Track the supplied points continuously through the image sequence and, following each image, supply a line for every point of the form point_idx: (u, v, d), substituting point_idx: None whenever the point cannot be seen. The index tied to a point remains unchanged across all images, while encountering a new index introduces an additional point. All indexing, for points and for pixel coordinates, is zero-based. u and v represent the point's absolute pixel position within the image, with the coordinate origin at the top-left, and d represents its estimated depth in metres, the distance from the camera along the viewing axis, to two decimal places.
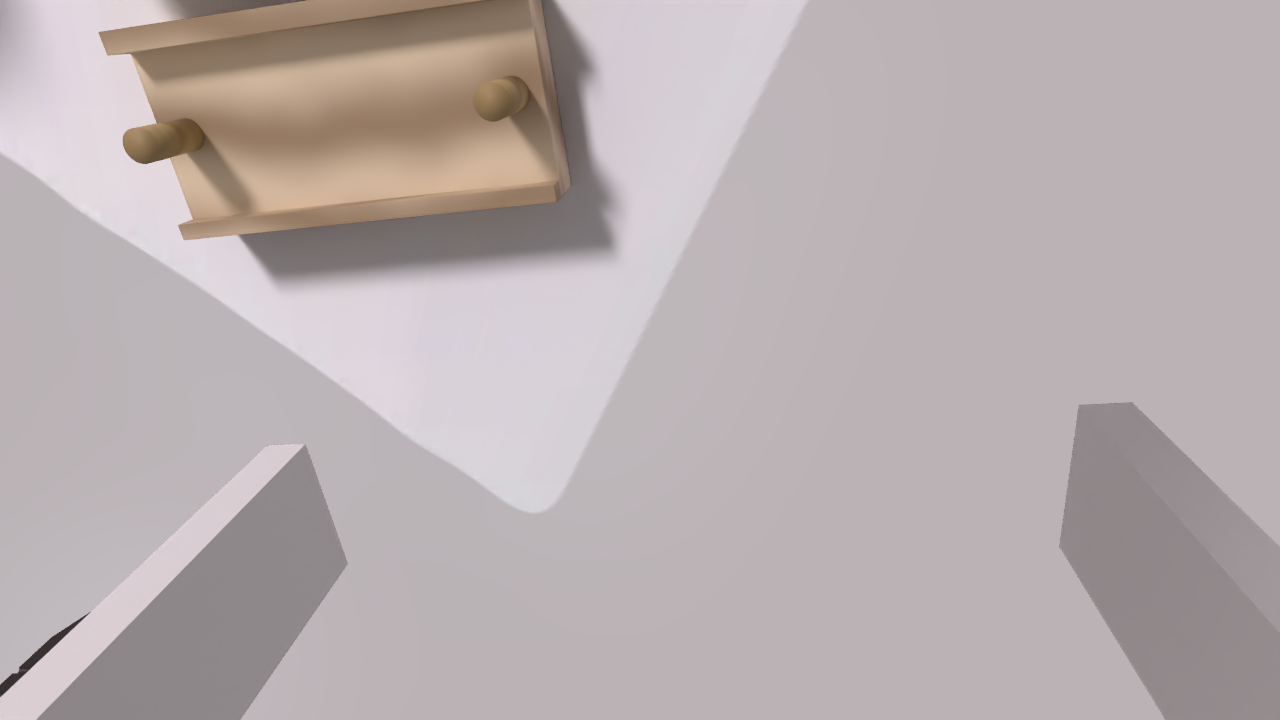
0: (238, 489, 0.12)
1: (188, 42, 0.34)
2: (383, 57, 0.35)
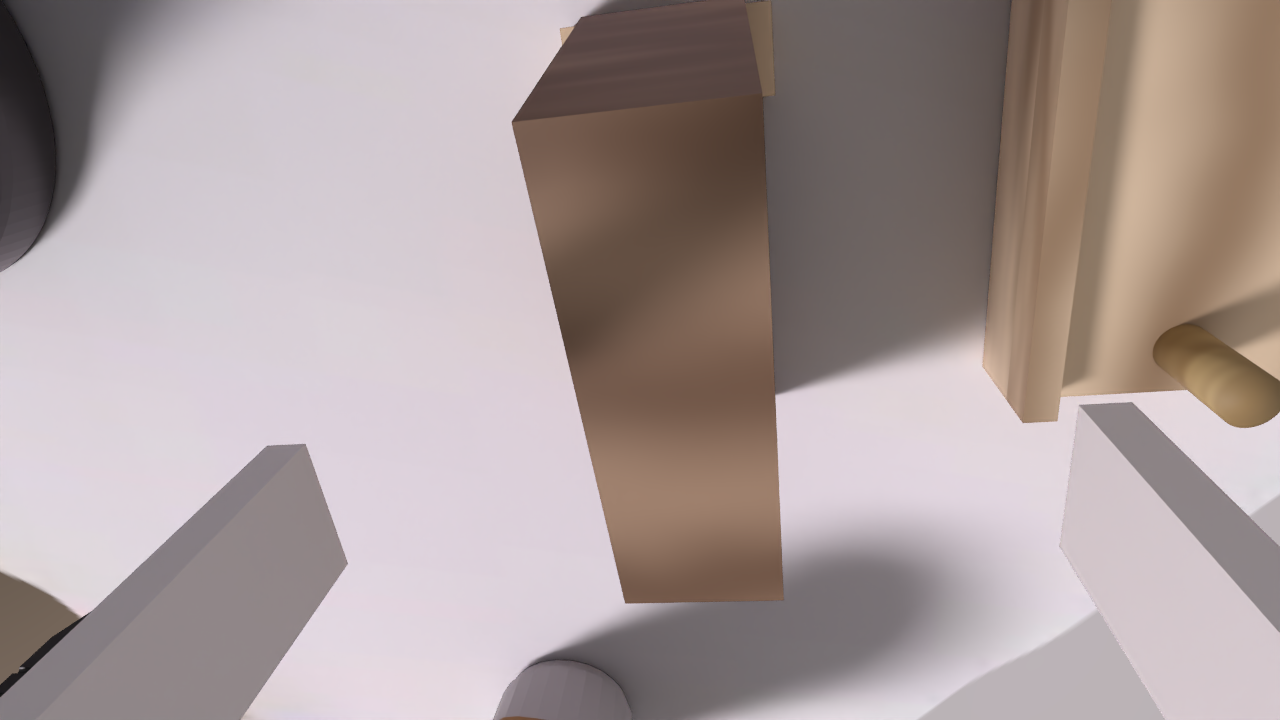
0: (238, 488, 0.12)
1: (1072, 292, 0.21)
2: None
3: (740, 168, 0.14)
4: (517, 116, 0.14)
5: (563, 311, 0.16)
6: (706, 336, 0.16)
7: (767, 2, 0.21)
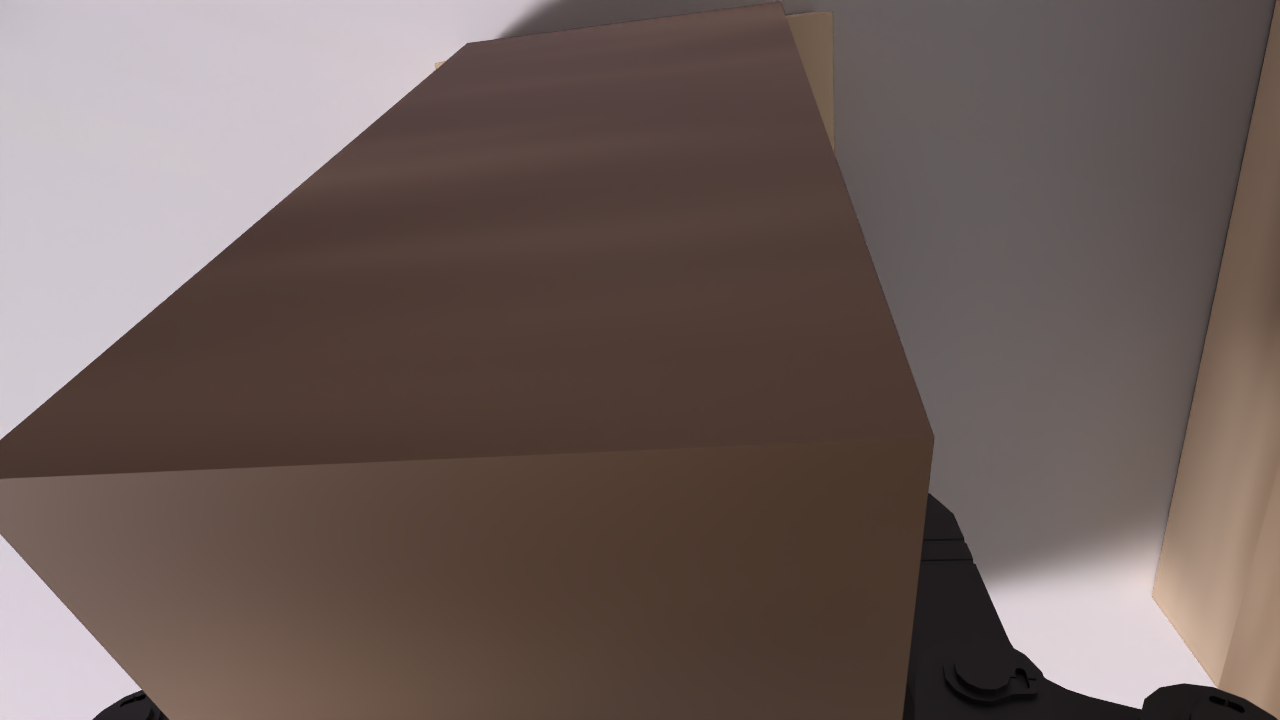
0: None
1: None
2: None
3: (815, 639, 0.04)
4: (8, 438, 0.04)
5: None
6: None
7: (825, 15, 0.11)
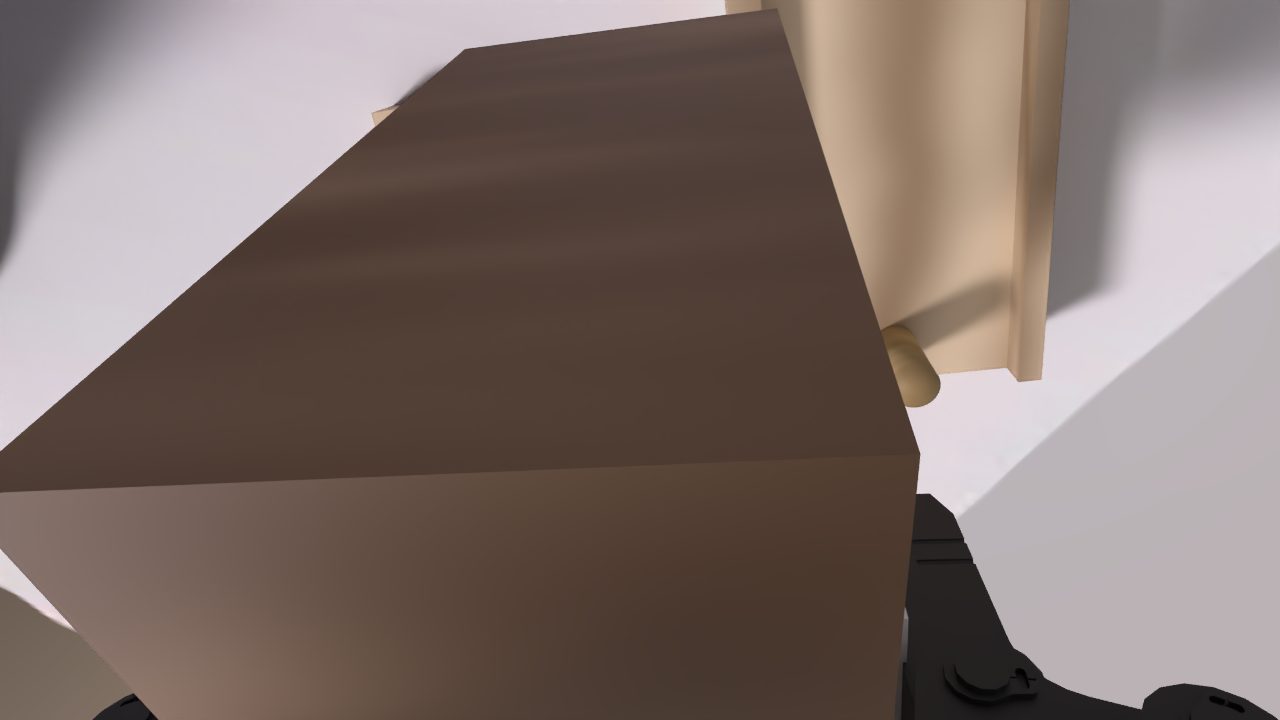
0: None
1: None
2: (815, 44, 0.24)
3: (805, 652, 0.04)
4: (5, 452, 0.04)
5: None
6: None
7: None
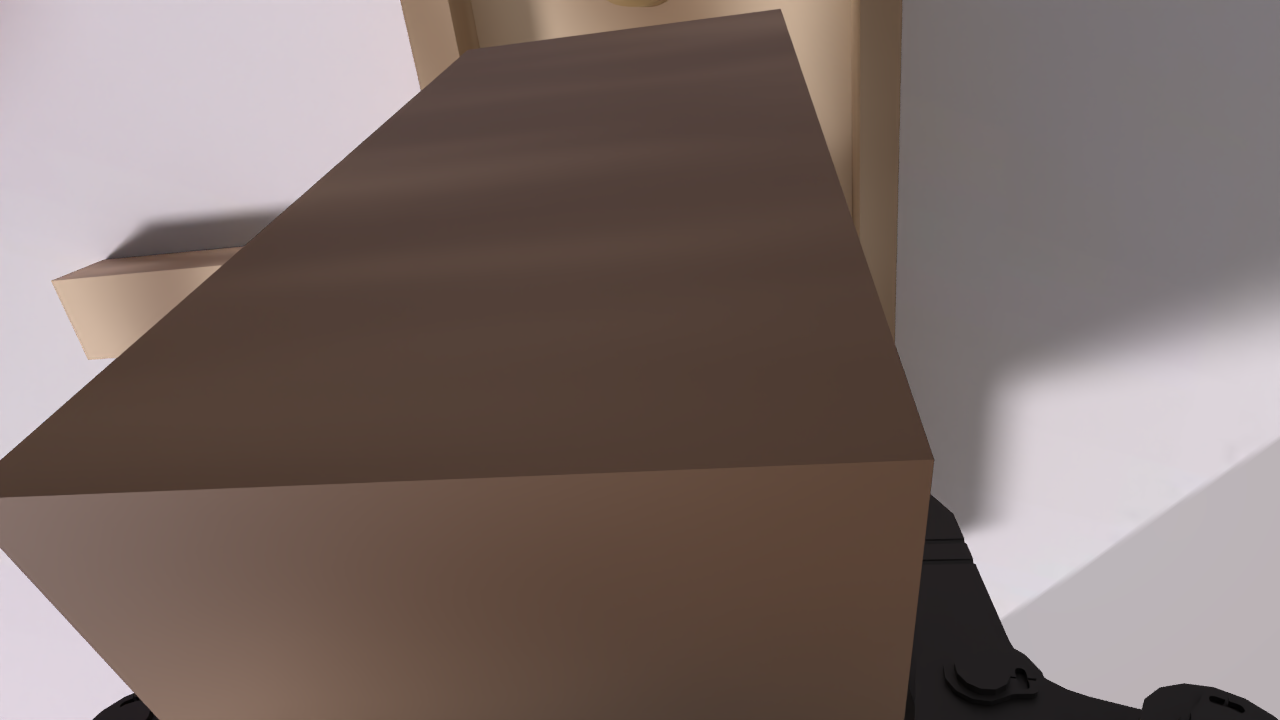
0: None
1: None
2: None
3: (816, 658, 0.04)
4: (11, 456, 0.04)
5: None
6: None
7: None
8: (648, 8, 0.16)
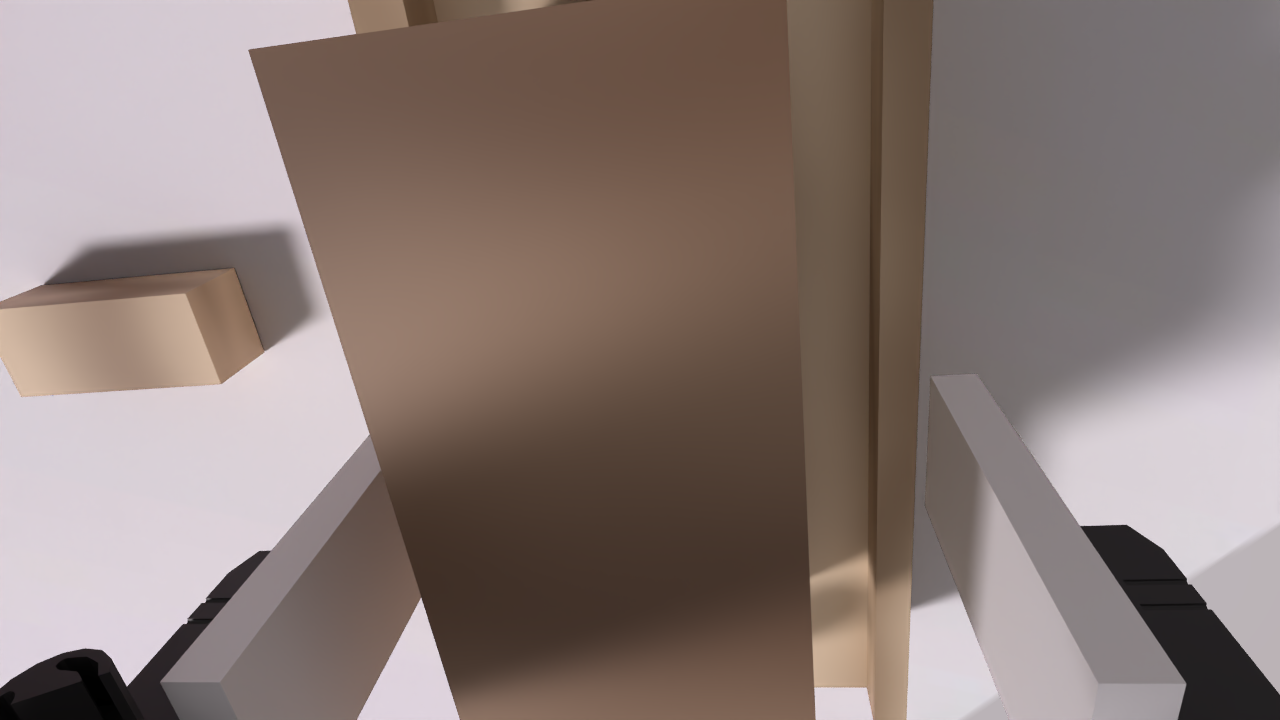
0: None
1: None
2: None
3: (737, 155, 0.06)
4: None
5: (390, 457, 0.08)
6: (672, 513, 0.08)
7: (181, 295, 0.18)
8: None
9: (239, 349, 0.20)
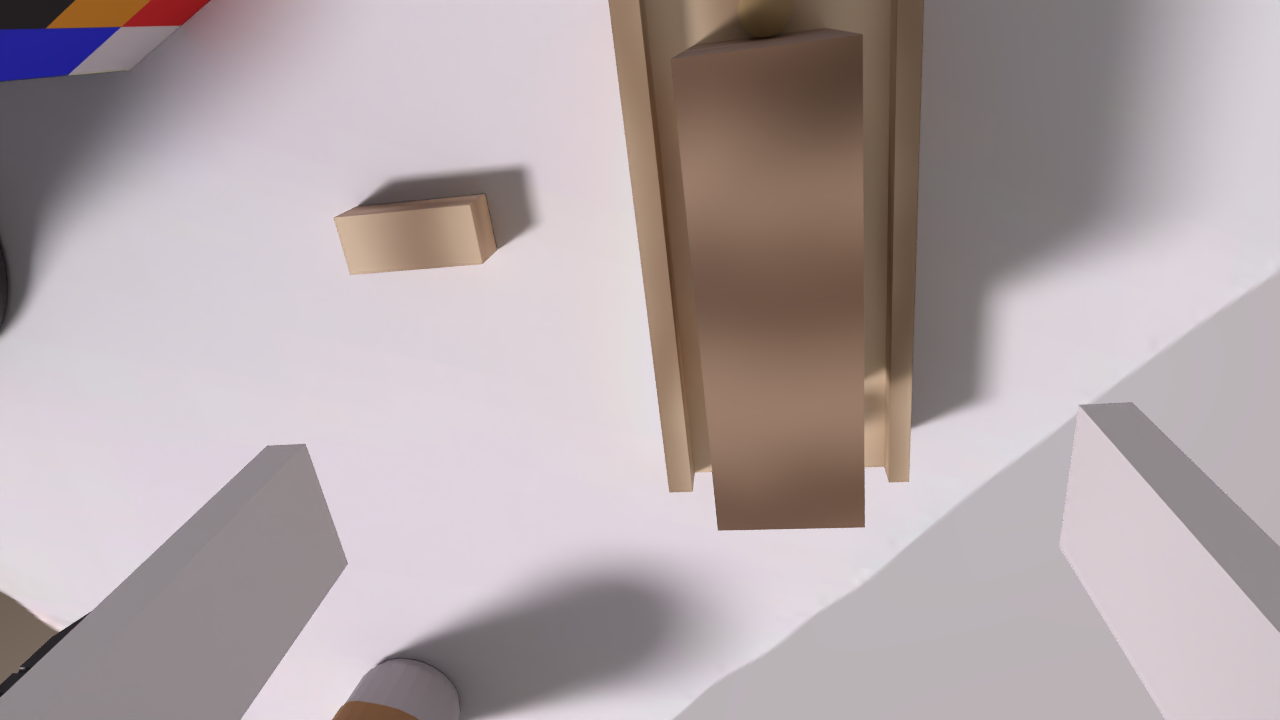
0: (238, 489, 0.12)
1: (682, 404, 0.30)
2: None
3: (843, 96, 0.18)
4: (673, 58, 0.18)
5: (692, 223, 0.20)
6: (807, 246, 0.20)
7: (467, 206, 0.30)
8: None
9: (488, 245, 0.32)
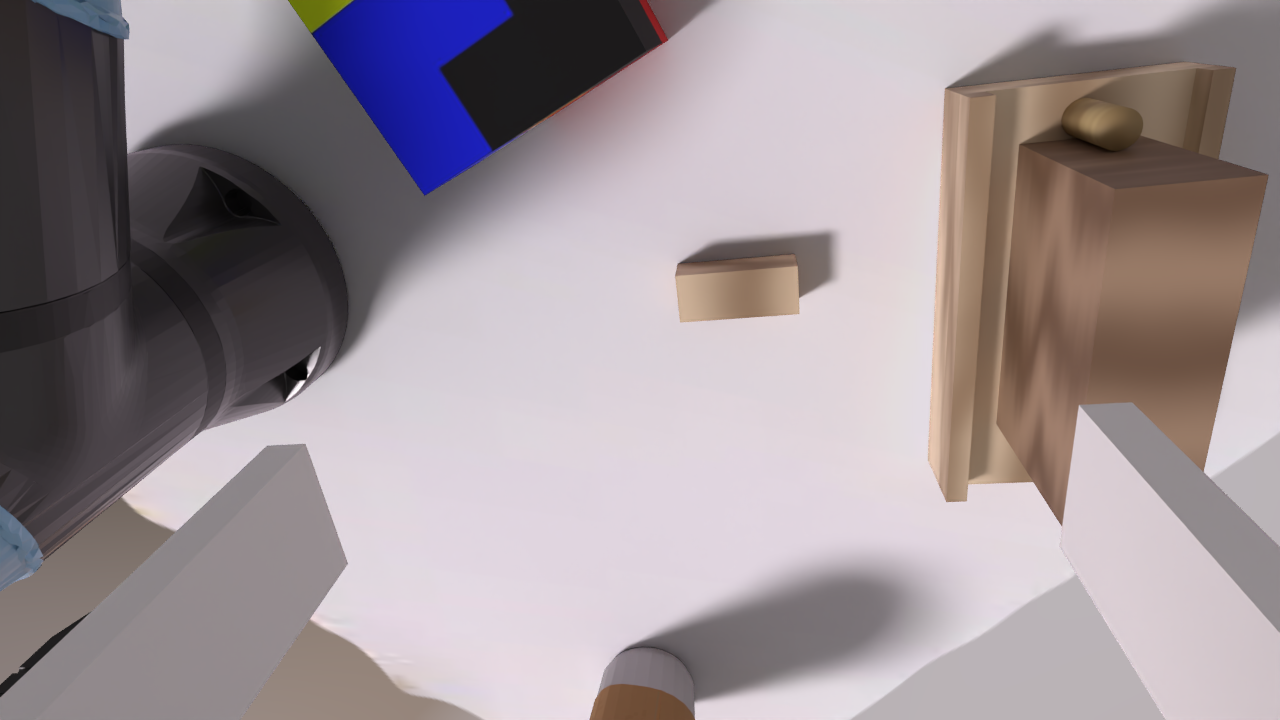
0: (238, 489, 0.12)
1: (970, 430, 0.37)
2: None
3: (1244, 217, 0.24)
4: (1112, 187, 0.25)
5: (1103, 305, 0.26)
6: (1192, 322, 0.26)
7: (795, 267, 0.36)
8: None
9: None
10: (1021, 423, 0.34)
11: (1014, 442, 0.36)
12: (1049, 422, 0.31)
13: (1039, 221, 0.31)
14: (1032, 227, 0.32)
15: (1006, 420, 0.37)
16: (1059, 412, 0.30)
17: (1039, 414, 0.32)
